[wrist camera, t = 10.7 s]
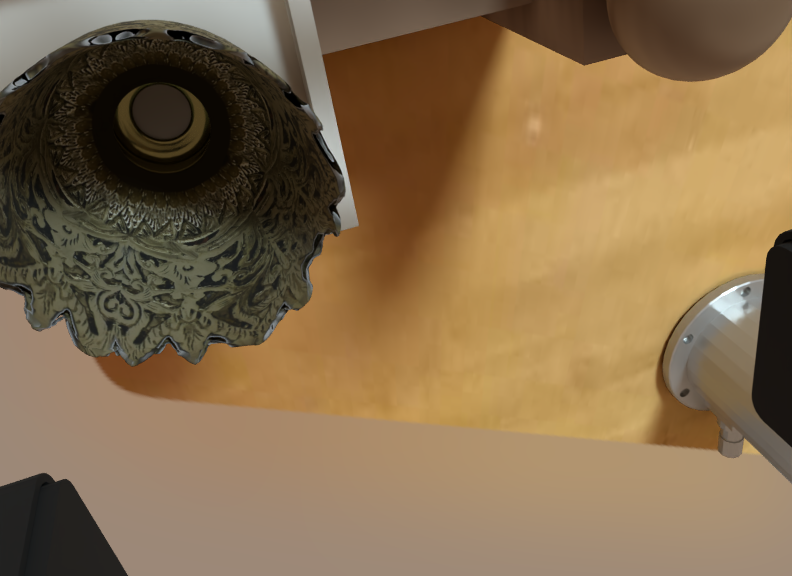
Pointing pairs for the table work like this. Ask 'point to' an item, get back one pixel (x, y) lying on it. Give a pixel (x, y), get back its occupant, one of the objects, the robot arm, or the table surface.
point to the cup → (160, 194)
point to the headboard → (393, 16)
